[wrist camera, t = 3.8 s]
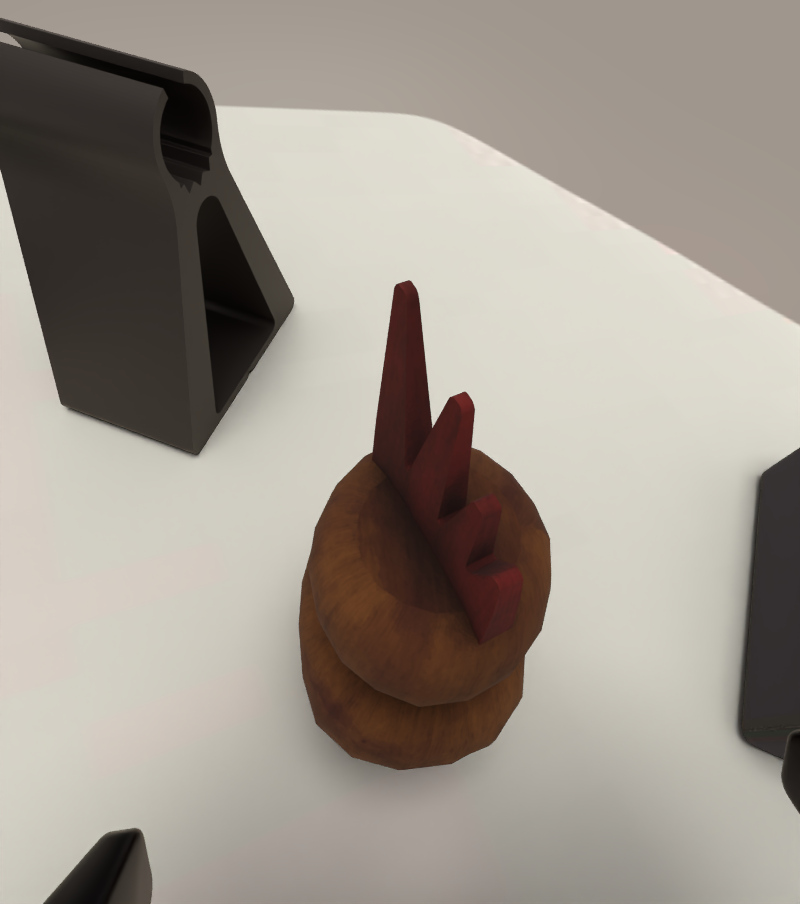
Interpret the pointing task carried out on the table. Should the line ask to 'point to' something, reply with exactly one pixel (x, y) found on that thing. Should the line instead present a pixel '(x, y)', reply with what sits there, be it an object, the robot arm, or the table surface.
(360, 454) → the table surface
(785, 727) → the calculator
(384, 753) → the wooden figurine
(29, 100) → the phone stand
